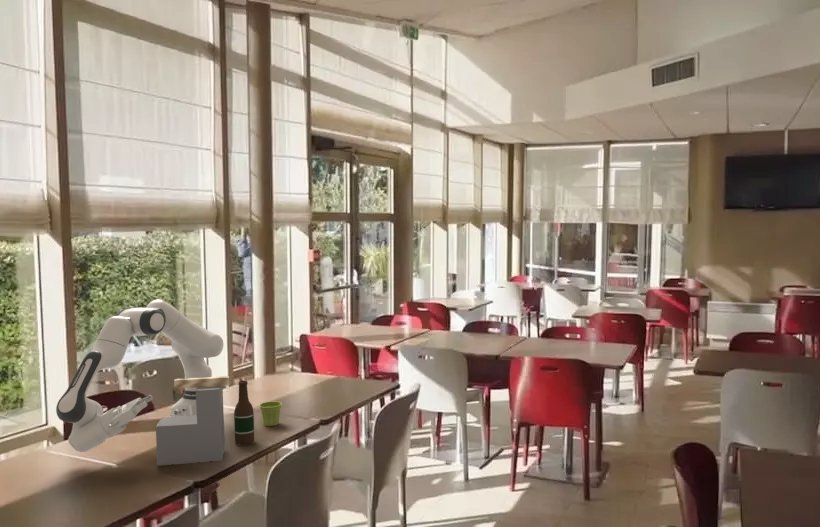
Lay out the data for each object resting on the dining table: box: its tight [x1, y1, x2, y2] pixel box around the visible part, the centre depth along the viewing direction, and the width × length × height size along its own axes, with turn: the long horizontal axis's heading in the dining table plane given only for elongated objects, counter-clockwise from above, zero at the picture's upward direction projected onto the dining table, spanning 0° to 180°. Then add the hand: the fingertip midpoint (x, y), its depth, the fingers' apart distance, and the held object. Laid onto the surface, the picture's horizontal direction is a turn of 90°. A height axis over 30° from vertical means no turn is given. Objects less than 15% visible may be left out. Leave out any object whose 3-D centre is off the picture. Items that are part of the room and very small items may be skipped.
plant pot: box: [258, 400, 283, 427], centre depth 292 cm, size 9×9×9 cm
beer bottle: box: [233, 380, 255, 446], centre depth 268 cm, size 8×8×24 cm
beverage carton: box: [172, 388, 186, 403], centre depth 332 cm, size 8×19×7 cm, turn 42°
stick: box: [173, 375, 230, 389], centre depth 251 cm, size 19×2×3 cm, turn 100°
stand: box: [155, 386, 226, 466], centre depth 251 cm, size 22×12×26 cm, turn 100°
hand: (149, 399), depth 248 cm, fingers open, 8 cm apart
